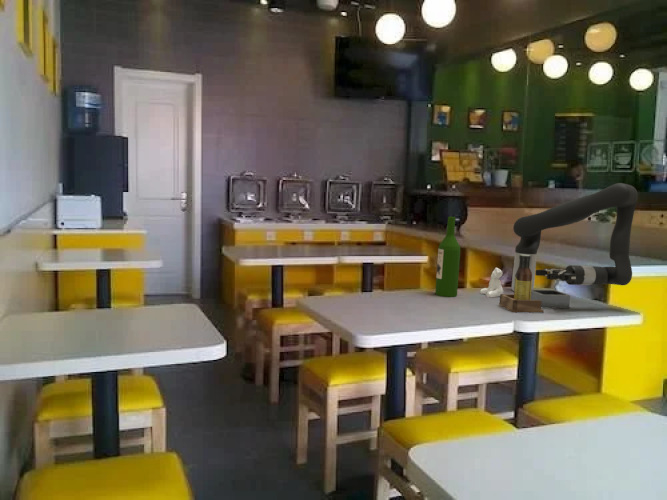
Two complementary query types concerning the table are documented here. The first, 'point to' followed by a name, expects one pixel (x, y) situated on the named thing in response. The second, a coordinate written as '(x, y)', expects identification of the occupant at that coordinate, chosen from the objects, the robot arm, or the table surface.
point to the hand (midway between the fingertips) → (541, 274)
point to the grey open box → (551, 298)
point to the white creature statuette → (494, 285)
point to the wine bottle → (448, 263)
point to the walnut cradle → (519, 304)
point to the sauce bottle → (523, 279)
